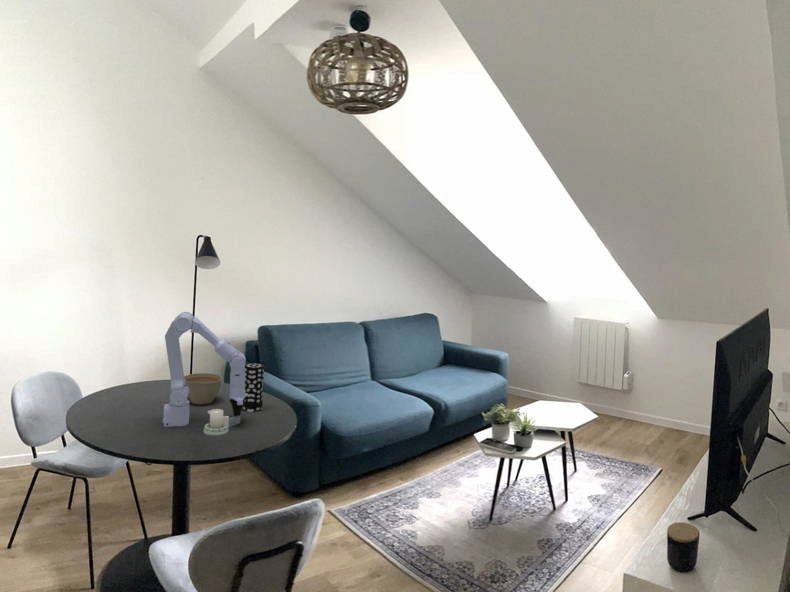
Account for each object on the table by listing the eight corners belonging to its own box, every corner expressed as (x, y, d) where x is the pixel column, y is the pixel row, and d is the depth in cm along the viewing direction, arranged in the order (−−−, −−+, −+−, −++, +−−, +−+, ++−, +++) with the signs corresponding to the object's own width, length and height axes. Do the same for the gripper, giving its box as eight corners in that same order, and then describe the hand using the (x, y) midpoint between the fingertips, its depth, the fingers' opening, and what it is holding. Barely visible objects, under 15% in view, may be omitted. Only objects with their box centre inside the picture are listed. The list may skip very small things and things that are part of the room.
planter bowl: (200, 409, 241) (201, 384, 240) (174, 401, 249) (175, 377, 248) (228, 401, 255) (229, 377, 254) (203, 394, 263) (204, 371, 262)
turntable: (203, 436, 210) (203, 428, 210) (204, 423, 223) (204, 416, 222) (241, 434, 214) (241, 426, 214) (240, 422, 227) (240, 415, 226)
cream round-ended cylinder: (207, 431, 212) (207, 413, 211) (207, 426, 217) (208, 409, 216) (228, 430, 214) (229, 412, 214) (228, 426, 219) (228, 408, 218)
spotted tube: (266, 411, 245) (268, 366, 242) (249, 415, 239) (251, 368, 236) (254, 406, 250) (256, 362, 248) (238, 410, 244) (240, 364, 242)
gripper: (251, 388, 220) (250, 422, 221) (244, 378, 233) (244, 410, 235) (232, 389, 217) (231, 424, 219) (226, 379, 230) (226, 411, 232)
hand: (236, 417), depth 226 cm, fingers closed, pressing on turntable
